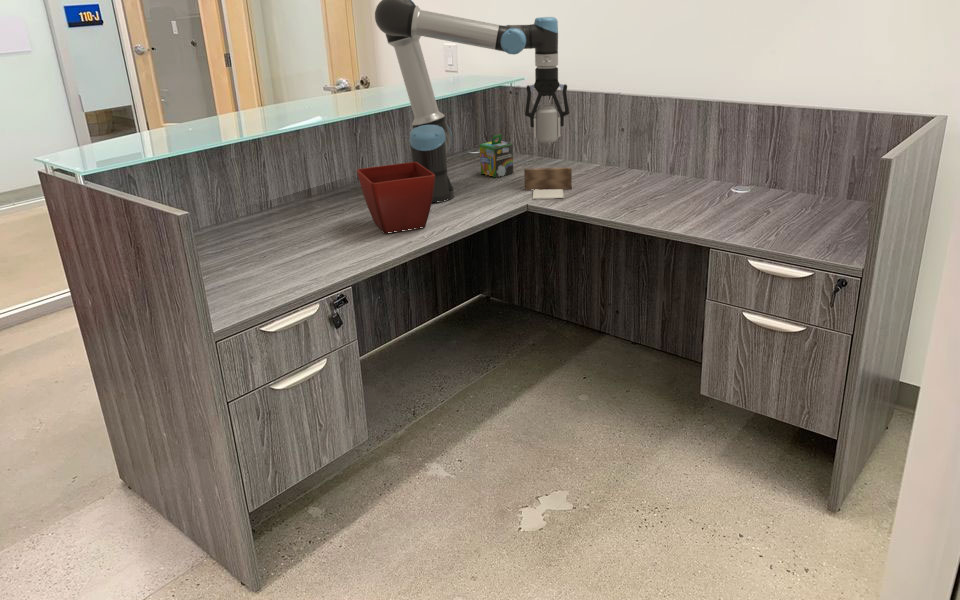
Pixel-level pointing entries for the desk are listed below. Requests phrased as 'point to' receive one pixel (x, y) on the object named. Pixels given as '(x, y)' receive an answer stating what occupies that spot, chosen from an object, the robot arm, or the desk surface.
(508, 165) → the chalk box
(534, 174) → the walnut plank
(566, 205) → the desk surface
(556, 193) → the pad
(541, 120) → the can
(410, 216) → the plant pot
